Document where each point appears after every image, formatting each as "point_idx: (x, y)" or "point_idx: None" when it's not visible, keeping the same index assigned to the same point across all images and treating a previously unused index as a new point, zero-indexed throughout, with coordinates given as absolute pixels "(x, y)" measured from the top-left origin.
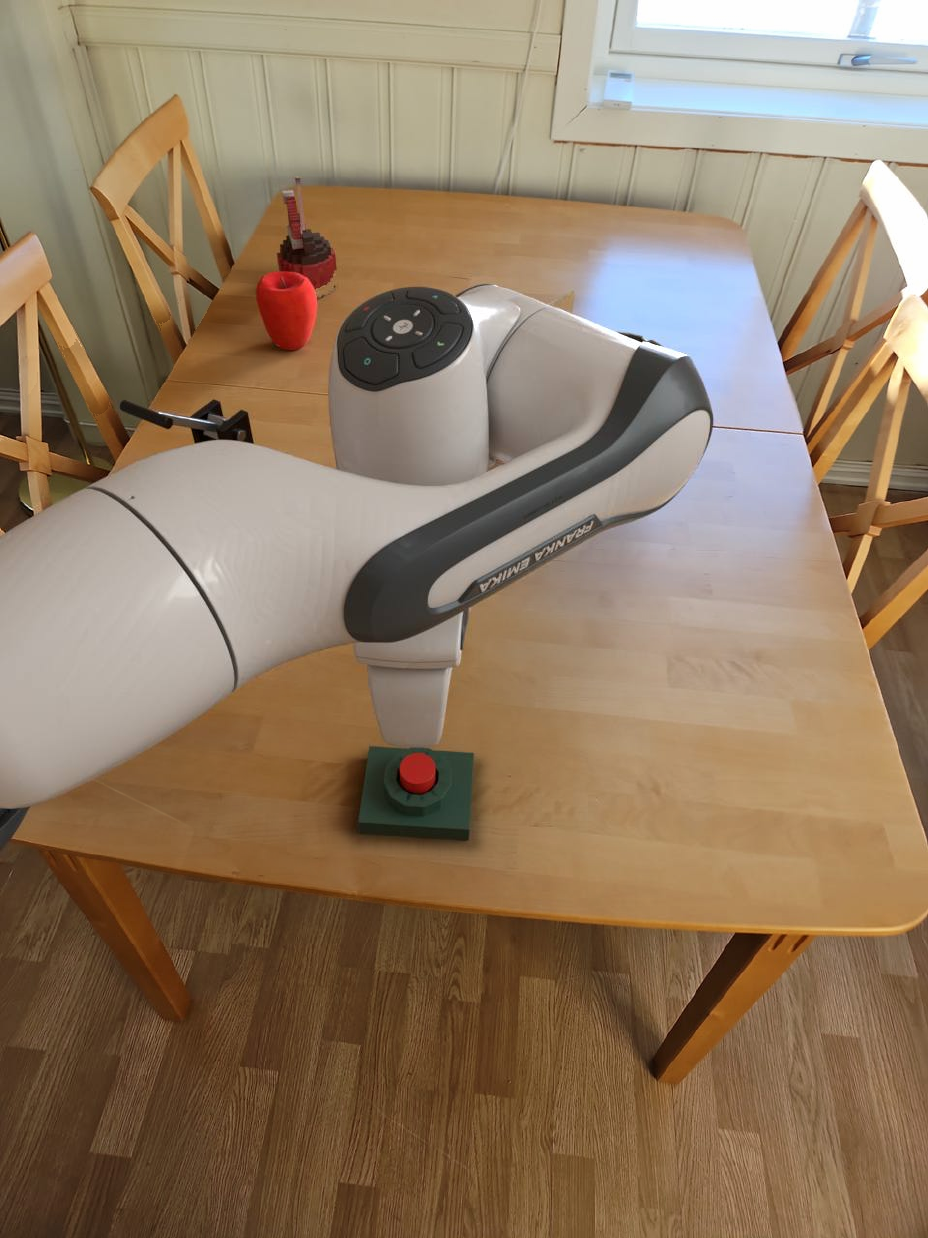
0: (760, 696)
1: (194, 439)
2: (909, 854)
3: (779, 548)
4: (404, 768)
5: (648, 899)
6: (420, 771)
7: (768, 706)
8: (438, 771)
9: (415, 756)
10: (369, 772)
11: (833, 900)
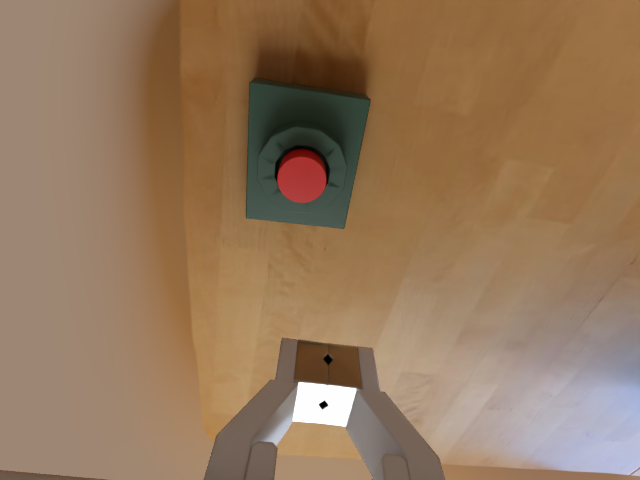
0: None
1: None
2: None
3: (515, 448)
4: (302, 163)
5: (205, 332)
6: (296, 184)
7: None
8: None
9: (320, 178)
10: (327, 99)
11: (218, 417)
